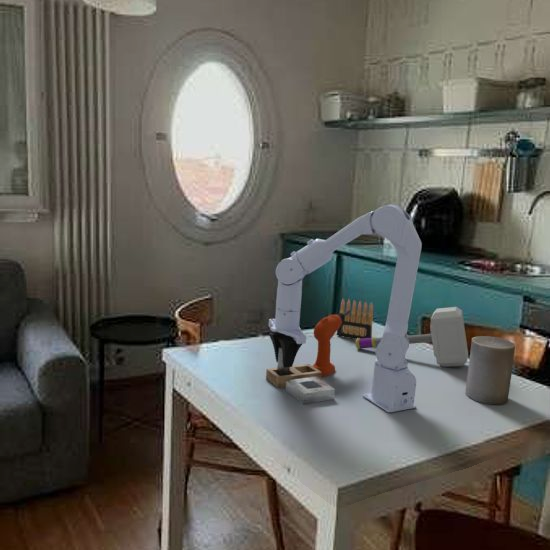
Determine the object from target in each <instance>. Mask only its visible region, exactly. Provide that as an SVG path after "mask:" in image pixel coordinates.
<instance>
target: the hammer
mask: <svg viewBox="0 0 550 550" xmlns="http://www.w3.org/2000/svg"><path fill="white" fill-rule="evenodd" d="M464 321H465V320H464V315H463V310H462V309H460V308H459V307H458V306H451V307H443V308H442V307H441V308H439V307H438V308H436V309H435V310H434V312H433V313H432V314H431V317H430V324H429V329H430V333H425V334H413V335H407V337H408V340H409V345H412V344H425V343H427V344H429V343H432V349H433V355H434V357H435V359H436V364H438V365H439V366H441V367H442V368H444V367H445V368H446V367H459V366H460V367H461V366H462V367H463V366H464V365H465V364H466V363H467V362H468V358H469V350H468V343H467V336H466V330H465V329H466V328H465V322H464ZM382 337H383V336H381V337H374V336H372V338H363V339H360V338H357V339H355V348H357V350H361V349H371V348H374V349H376V348H377V346H378V344H379V343H380V342H381V339H382Z"/></svg>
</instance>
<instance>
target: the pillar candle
mask: <svg viewBox="0 0 550 550" xmlns="http://www.w3.org/2000/svg"><path fill="white" fill-rule="evenodd" d="M515 350H516V344H515V343H514V342H512V341H510V340H508V339H505V338H502V337H497V336H488V335H487V336H485V335H484V336H483V335H481V336H474V337H472V338H471V344H470V350H469V351H470V353H469V354H470V355H469V361H468V369H467V377H466V384H465V385H466V386H465V395H466V396H467V397H468V398H470V399H471V400H473V401H475V402H478V403H481V404H485V405H495V406H497V405H498V406H499V405H504V404H507V403H508V402H509V396H510V395H509V393H510V388H511V379H512V373H513V368H514V367H513V366H514V359H515Z"/></svg>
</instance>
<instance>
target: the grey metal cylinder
mask: <svg viewBox="0 0 550 550" xmlns="http://www.w3.org/2000/svg"><path fill="white" fill-rule="evenodd" d="M276 368H277V374H278V375H280V376H284V375H290V367H283V354H282V347H281V346H279V353H278V362H277V367H276Z"/></svg>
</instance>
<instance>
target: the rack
mask: <svg viewBox="0 0 550 550" xmlns="http://www.w3.org/2000/svg"><path fill="white" fill-rule="evenodd" d="M265 373H266V374H265V379H266V380H267V381H268V380H269V381H268V382H270V383H271V384H272V383H273V384H272V385H273V386H275V387H276V386H277V387H279V388H286V387H285V386H286V381H287V380H294V379H301V378H309V377H317V378H319V379H320V380H322V377H323V376H322V372H321V371H319V370H318V369H316V368H315V367H313V364H312V365H311V364H310V363H306V364H298V365H292V367H290V375H284V376H280V375H278V374H277V367H274V368H266V371H265ZM277 387H276V388H277Z"/></svg>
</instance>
